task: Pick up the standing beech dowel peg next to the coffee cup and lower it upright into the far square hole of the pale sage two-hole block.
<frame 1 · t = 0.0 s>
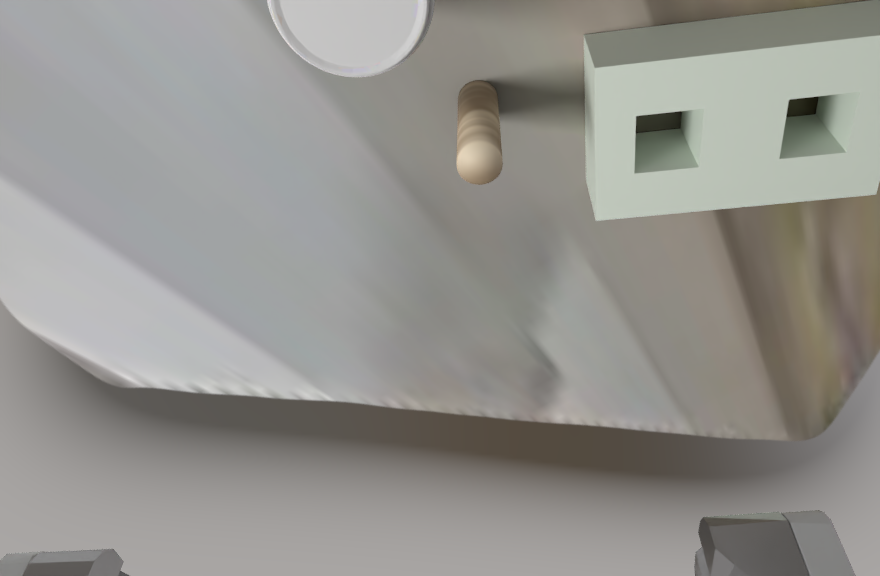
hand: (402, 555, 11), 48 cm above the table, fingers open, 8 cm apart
peg: (477, 99, 57), on the table
hole block: (719, 97, 57), on the table
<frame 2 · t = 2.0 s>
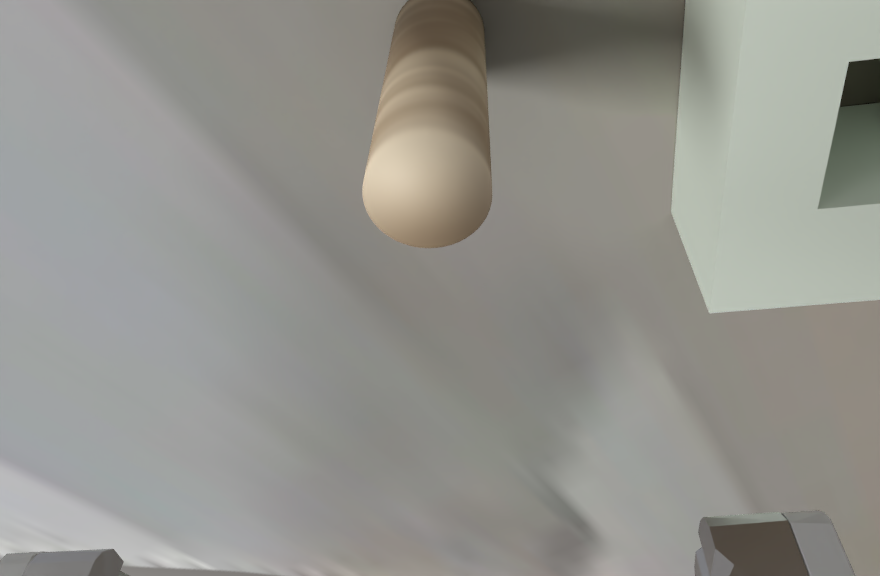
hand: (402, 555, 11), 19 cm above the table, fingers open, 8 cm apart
peg: (439, 34, 25), on the table
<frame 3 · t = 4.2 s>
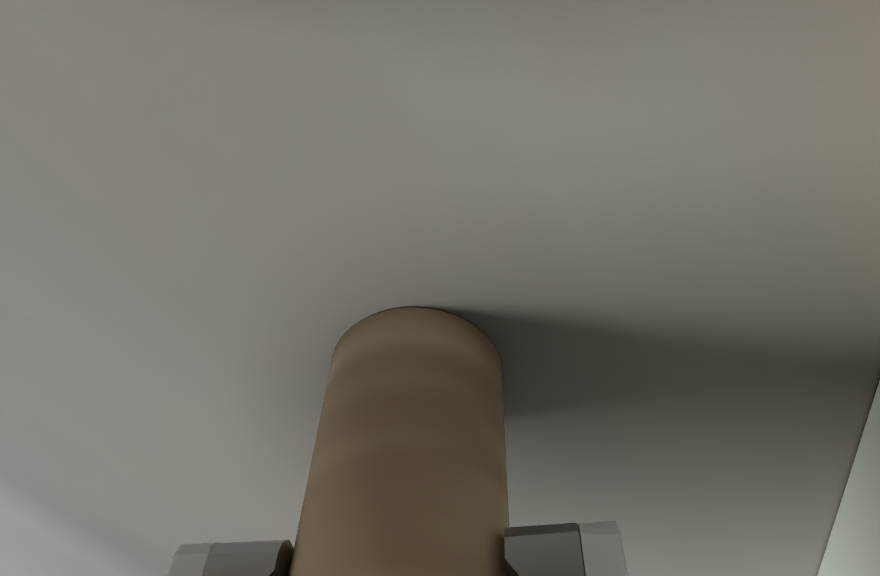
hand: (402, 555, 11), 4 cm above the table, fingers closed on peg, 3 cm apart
peg: (416, 372, 13), on the table, touching gripper
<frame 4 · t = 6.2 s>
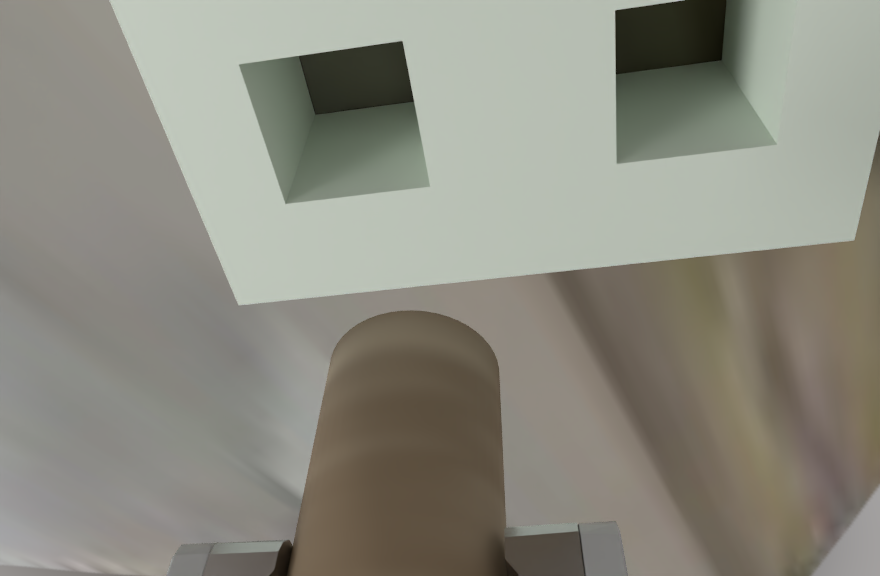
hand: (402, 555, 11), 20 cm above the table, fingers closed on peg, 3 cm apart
peg: (414, 375, 13), point 16 cm above the table, touching gripper
hole block: (505, 26, 26), on the table
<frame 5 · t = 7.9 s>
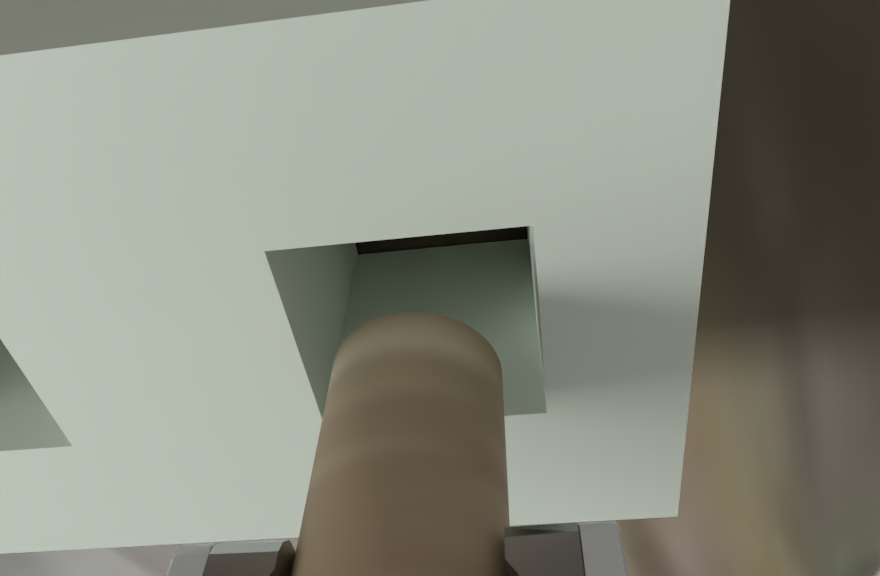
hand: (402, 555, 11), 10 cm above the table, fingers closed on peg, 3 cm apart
peg: (417, 376, 13), point 7 cm above the table, touching gripper
hole block: (232, 192, 19), on the table
when the fingers open (7 cm above the table, at t = 8.7 s): peg drops 3 cm, resting in hole block.
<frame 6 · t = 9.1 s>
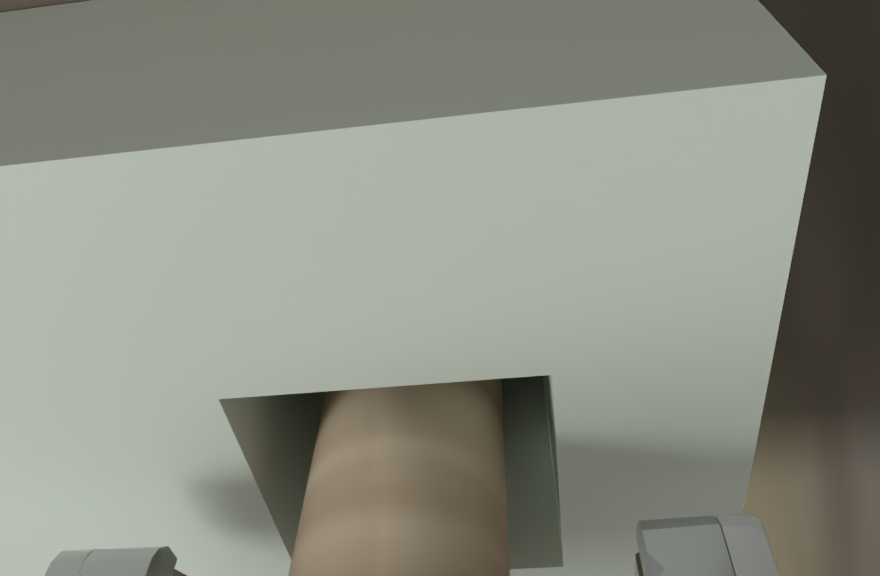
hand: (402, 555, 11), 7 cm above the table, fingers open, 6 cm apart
peg: (425, 258, 16), resting in hole block
hole block: (200, 277, 17), on the table
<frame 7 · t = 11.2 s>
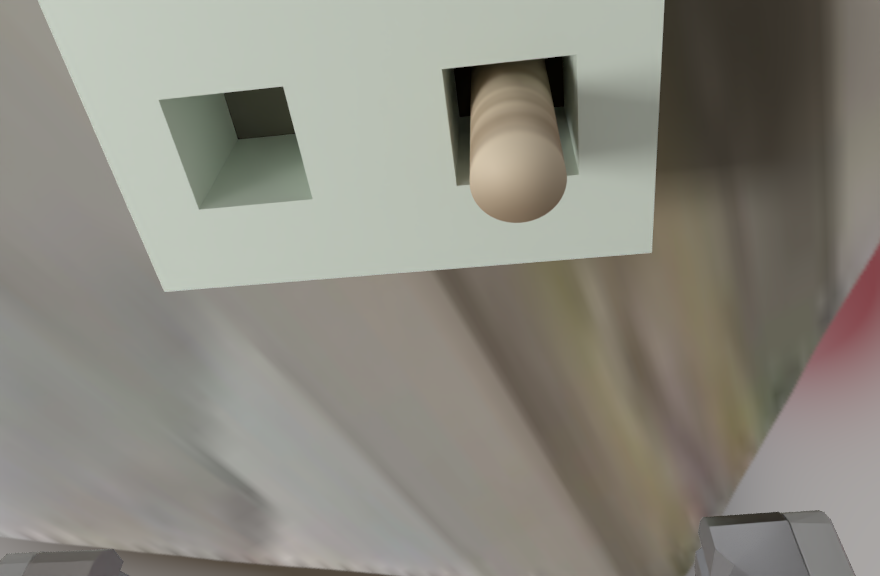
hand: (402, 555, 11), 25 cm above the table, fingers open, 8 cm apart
peg: (507, 62, 31), resting in hole block
hole block: (388, 74, 32), on the table
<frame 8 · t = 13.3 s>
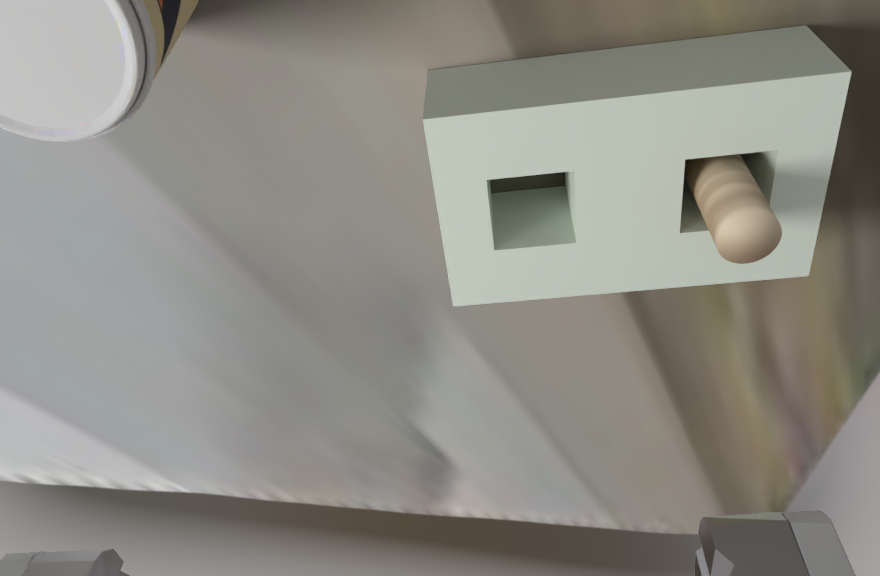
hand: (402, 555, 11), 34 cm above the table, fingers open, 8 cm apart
peg: (698, 139, 44), resting in hole block
hole block: (611, 147, 44), on the table
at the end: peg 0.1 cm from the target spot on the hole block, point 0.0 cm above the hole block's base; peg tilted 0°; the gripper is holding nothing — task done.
